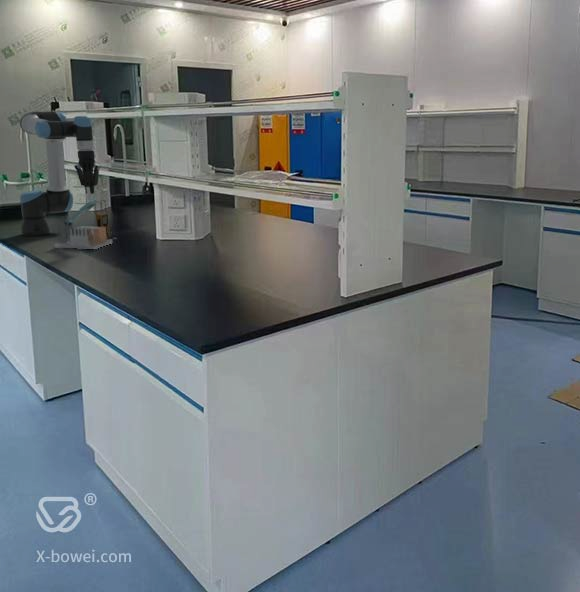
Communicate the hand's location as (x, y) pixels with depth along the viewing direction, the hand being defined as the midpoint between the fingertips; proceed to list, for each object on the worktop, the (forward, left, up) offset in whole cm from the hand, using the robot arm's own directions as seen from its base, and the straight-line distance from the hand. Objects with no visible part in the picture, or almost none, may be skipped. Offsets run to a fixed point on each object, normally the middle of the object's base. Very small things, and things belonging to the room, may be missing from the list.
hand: (90, 200), depth 299 cm
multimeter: (-4, +21, -23) cm, 31 cm away
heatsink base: (-6, 0, -23) cm, 23 cm away
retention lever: (-7, 0, -8) cm, 10 cm away
